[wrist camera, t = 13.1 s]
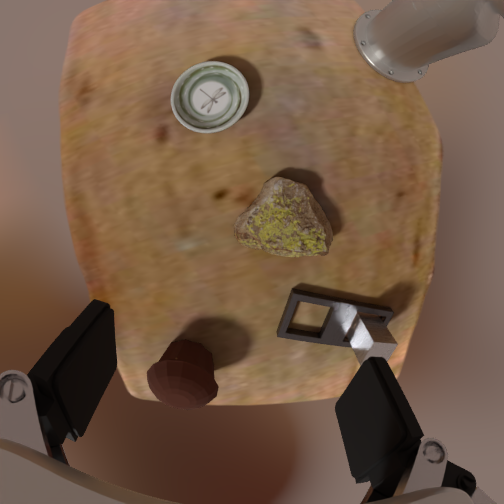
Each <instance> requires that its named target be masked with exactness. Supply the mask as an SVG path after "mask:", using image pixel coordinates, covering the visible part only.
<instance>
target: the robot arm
mask: <svg viewBox="0 0 504 504" xmlns="http://www.w3.org/2000/svg"><path fill="white" fill-rule="evenodd" d="M500 15H501V16H502V17H503V18H504V0H392V1H391V2H390V3H389V4H388V5H387V6H386V7H385V8H384V9H383V10H371V11H368V12H365V13H364V14H362V15H361V16H360V17H359V18H358V19H357V21H356V23H355V25H354V30H353V31H354V40H355V43H356V46H357V48H358V50H359V52H360V53H361V55H362V57H363V58H364V59H365V60H366V62H367V63H368V64H369V65H370V66H371V67H372V68H373V69H374V70H376V71H377V72H378V73H380V74H381V75H383V76H384V77H386V78H388V79H391V80H393V81H396V82H401V83H410V82H413V81H416V80H419V79H421V78H422V77H423V76H424V75H425V73H426V72H427V69H428V67H429V64H431V63H433V62H436V61H439V60H441V59H444V58H447V57H450V56H453V55H456V54H459V53H462V52H465V51H468V50H471V49H475V48H478V47H481V46H484V45H487V44H488V43H490V42H491V41H492V40H493V39H494V37H495V35H496V33H497V30H498V26H499V18H500ZM361 44H362V45H361ZM116 367H117V354H116V342H115V326H114V311H113V309H110V305H109V304H108V303H105V302H102V301H99V300H96V299H94V300H93V301H92V302H91V303H90V304H89V305H88V306H87V307H86V308H85V310H84V311H83V312H82V313H81V314H80V315H79V316H78V317H77V318H76V319H75V321H74V322H73V323H72V324H71V325H70V326H69V327H67V328H65V329H64V330H63V331H62V332H61V334H60V335H59V336H58V337H57V338H56V339H55V341H54V342H53V343H52V344H51V345H50V347H49V348H48V349H47V350H46V352H45V353H44V354H43V355H42V356H41V358H40V359H39V360H38V362H37V363H36V364H35V365H34V367H33V368H32V369H31V370H30V372H29V373H28V374H27V375H25V374H24V373H23V372H20V371H17V370H9V371H5V372H3V373H1V374H0V504H180V503H175V502H171V501H166V500H162V499H158V498H155V497H151V496H147V495H144V494H140V493H137V492H134V491H130V490H128V489H125V488H122V487H119V486H116V485H113V484H111V483H108V482H105V481H103V480H100V479H98V478H95V477H93V476H90V475H88V474H86V473H83V472H81V471H79V470H77V469H75V468H72V467H70V465H69V463H68V460H67V458H66V455H65V452H64V449H63V446H62V444H63V442H64V440H65V438H68V439H70V440H72V441H74V442H76V440H77V438H78V436H79V437H82V436H83V435H84V433H85V431H86V429H87V426H88V424H89V422H90V420H91V418H92V416H93V414H94V412H95V410H96V408H97V406H98V404H99V401H100V399H101V397H102V395H103V394H104V391H105V390H106V388H107V386H108V384H109V382H110V380H111V378H112V376H113V374H114V372H115V370H116ZM335 412H336V415H337V419H338V423H339V427H340V430H341V435H342V438H343V442H344V446H345V450H346V454H347V458H348V462H349V466H350V471H351V474H352V476H353V477H354V478H355V479H356V483H363V482H368V481H370V482H371V486H370V488H369V489H368V491H367V493H366V495H365V497H364V498H363V500H362V502H361V503H360V504H496V503H495V502H494V501H493V500H492V499H491V498H490V497H489V496H488V495H486V494H485V493H484V492H483V491H482V490H481V489H480V488H479V487H476V480H475V477H474V476H473V475H472V473H470V472H469V471H467V470H465V469H463V468H461V467H459V466H457V465H455V464H453V463H451V462H450V461H448V460H447V458H448V453H447V449H446V447H445V446H444V444H443V443H442V442H441V441H439V440H437V439H434V438H427V439H425V440H423V441H422V442H421V440H420V439H421V438H422V437H423V436H424V434H423V432H422V430H421V428H420V426H419V423H418V422H417V419H416V417H415V415H414V413H413V411H412V409H411V407H410V405H409V403H408V401H407V399H406V397H405V395H404V394H403V391H402V390H401V387H400V386H399V383H398V382H397V380H396V378H395V376H394V374H393V372H392V370H391V368H390V367H389V365H388V363H387V361H386V359H385V358H383V357H374V356H371V357H369V358H368V359H367V360H365V361H364V362H363V363H362V365H361V367H360V368H359V370H358V371H357V373H356V374H355V376H354V378H353V379H352V381H351V382H350V384H349V385H348V387H347V388H346V390H345V391H344V393H343V394H342V395H341V397H340V398H339V400H338V401H337V403H336V406H335Z"/></svg>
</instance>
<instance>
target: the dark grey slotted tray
mask: <svg viewBox="0 0 504 504" xmlns="http://www.w3.org/2000/svg"><path fill="white" fill-rule="evenodd" d="M297 301H302V302H307V303H312V304H317V305H323V306H328V307H330V309H329V312H328V314H327V316H326V318H325V321H324V323H323V325H322V327H321V330H320V332H319V333H315V332H309V331H302V330H296V329H291V328H288V325H289V322H290V320H291V317H292V315H293V312H294V309H295V307H296V304H297ZM357 312H361V313H367V314H374V315H379V316H380V318H381V319H382V321H383V322H384V324H385V325H386V327H387V325H388V323H389V321H390V319H391V317H392V315H393V313H394V312H393V310H392V309H391V308H389V307H384V306H378V305H373V304H367V303H362V302H357V301H352V300H346V299H341V298H336V297H331V296H326V295H321V294H316V293H311V292H306V291H302V290H297V289H292V290H291V293H290V295H289V298H288V301H287V304H286V307H285V310H284V312H283V315H282V318H281V321H280V323H279V326H278V329H277V337H281V338H287V339H293V340H299V341H306V342H313V343H320V344H327V345H335V346H343V347H352V346H351V343H350V341H349V339H348V337H347V335H346V333H347V332H348V330H349V328H350V326H351V323H352V321H353V319H354V317H355V315H356V313H357Z"/></svg>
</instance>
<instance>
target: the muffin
mask: <svg viewBox="0 0 504 504" xmlns="http://www.w3.org/2000/svg"><path fill="white" fill-rule="evenodd" d="M147 380H148V384H149V387H150V389H151V391H152V392H153V393H154V395H155V396H156V397H157V399H159V400H160V401H162V402H163V403H165V404H166V405H168V406H171V407H174V408H177V409H186V410H191V409H195V408H201V407H203V406H205V405H206V404H207V403H209V402H210V401H211V400H213V399H214V398H215V397H216V396H217V392H218V385H217V383H216V381H215V380H214V364H213V361H212V353H210V352H209V351H208V350H206V349H205V348H204V346H203V345H202V344H200V343H195V342H191V341H188V340H182V341H179V342H172V343H171V344H170V345H169V347H168V348H167V350H166V351H165V353H164V354H163V356H162V357H161V359H160V360H159V362H157V363H155V364H153V365H152V366H151V368H150V369H149V370H148V371H147Z"/></svg>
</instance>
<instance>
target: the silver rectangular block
mask: <svg viewBox="0 0 504 504" xmlns="http://www.w3.org/2000/svg"><path fill="white" fill-rule="evenodd" d="M346 335H347V337H348V339H349V341H350V343H351V346H352V348H353V350H354V352H355V355H356V357H357V359H358V361H359V364H360V365H362V363H363V362H364V361H365V360H367V359H368V358H369V357H371V356H374V357H383V358H385V359H386V361H388V360H389V358H390V356H391V355H392V353H393V351H394V350H395V348H396V346H397V345H398V344H397V342H396V340H395V339H394V337H393V336H392V334H391V333H390V331H389V330H388V328H387V327H386V325H385V324H384V322H383V321H382V319H381V318H380V316H379V315H374V314H367V313H361V312H357V313H356V315H355V317H354V319H353V321H352V323H351V326H350V328H349V330H348V332H347V333H346Z"/></svg>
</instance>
